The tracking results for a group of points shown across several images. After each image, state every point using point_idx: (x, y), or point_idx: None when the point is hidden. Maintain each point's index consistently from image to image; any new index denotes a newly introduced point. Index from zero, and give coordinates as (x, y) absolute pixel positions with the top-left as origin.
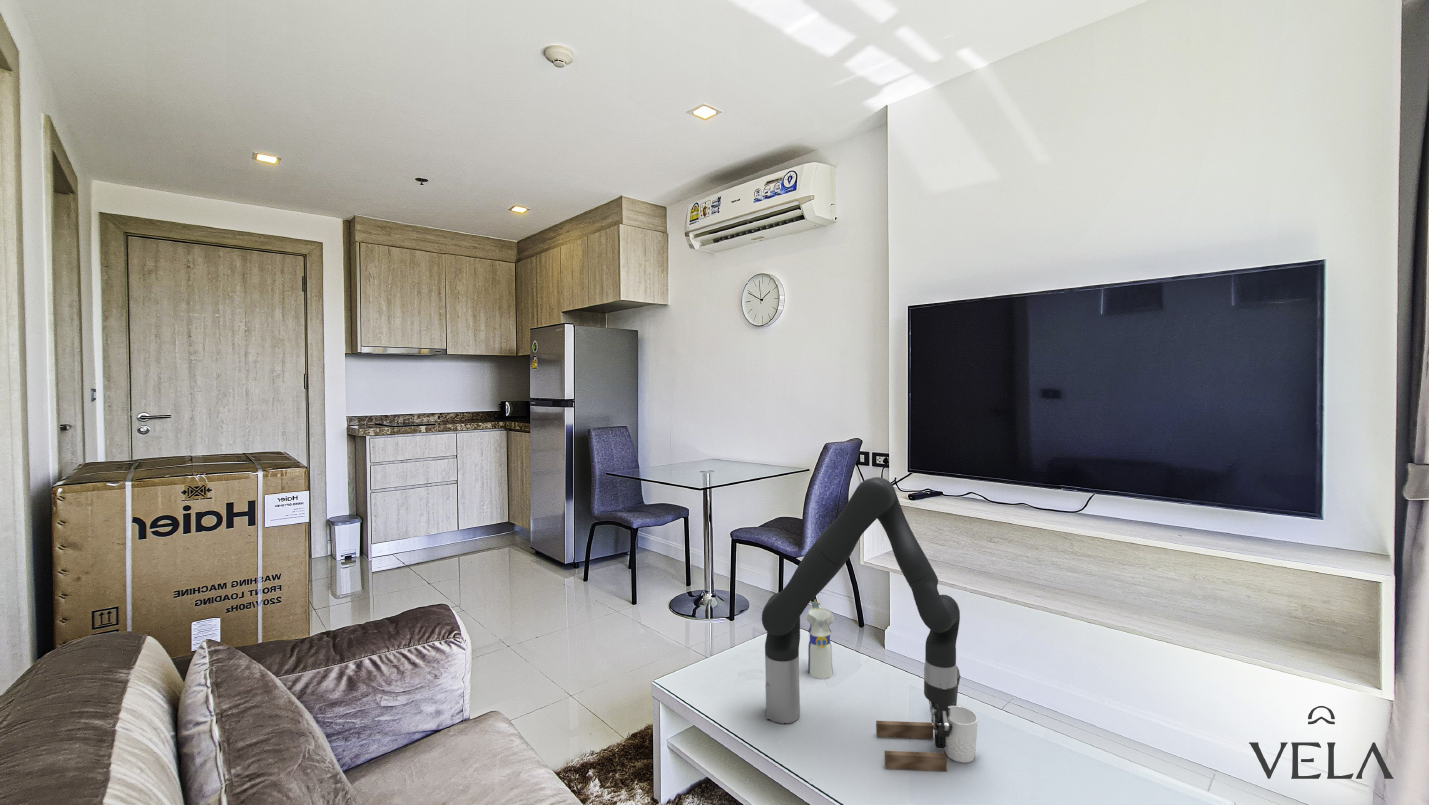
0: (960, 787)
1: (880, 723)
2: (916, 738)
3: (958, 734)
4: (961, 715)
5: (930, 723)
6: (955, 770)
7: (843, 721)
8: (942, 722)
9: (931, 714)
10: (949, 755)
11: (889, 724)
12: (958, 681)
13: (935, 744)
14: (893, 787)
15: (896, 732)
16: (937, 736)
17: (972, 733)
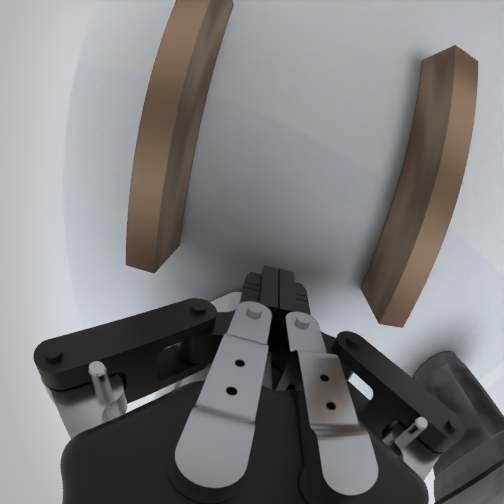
0: (85, 244)
1: (459, 61)
2: (386, 221)
3: (155, 396)
4: None
5: (400, 319)
6: (161, 274)
7: (494, 26)
8: (111, 396)
9: (336, 379)
10: (228, 296)
11: (452, 98)
12: (435, 497)
13: (271, 270)
14: (110, 18)
15: (424, 134)
16: (257, 302)
17: None
